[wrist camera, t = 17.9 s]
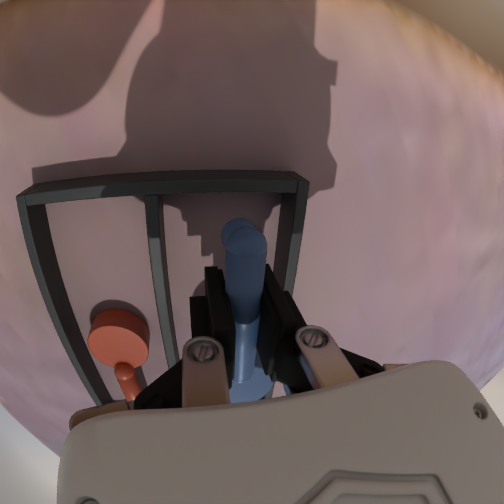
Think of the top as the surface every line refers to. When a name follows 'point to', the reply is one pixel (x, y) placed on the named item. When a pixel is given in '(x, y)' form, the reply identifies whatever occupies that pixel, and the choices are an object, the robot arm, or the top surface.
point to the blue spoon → (246, 305)
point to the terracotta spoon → (120, 346)
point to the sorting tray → (150, 242)
